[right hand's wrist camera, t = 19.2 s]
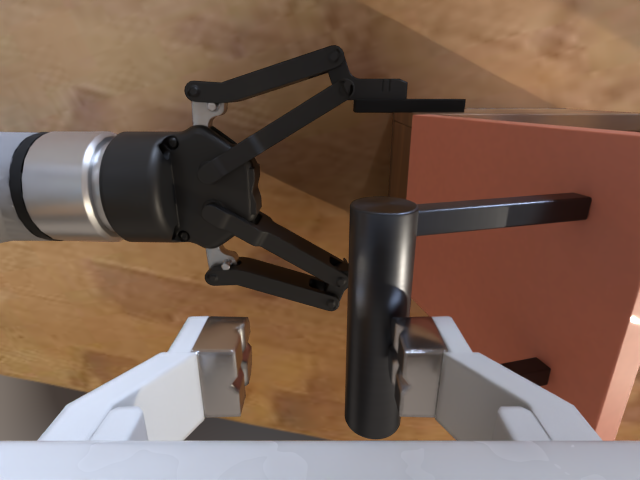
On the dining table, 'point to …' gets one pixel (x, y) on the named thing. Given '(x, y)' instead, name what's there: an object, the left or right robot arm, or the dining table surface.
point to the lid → (504, 261)
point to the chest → (526, 115)
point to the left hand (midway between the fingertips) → (448, 190)
